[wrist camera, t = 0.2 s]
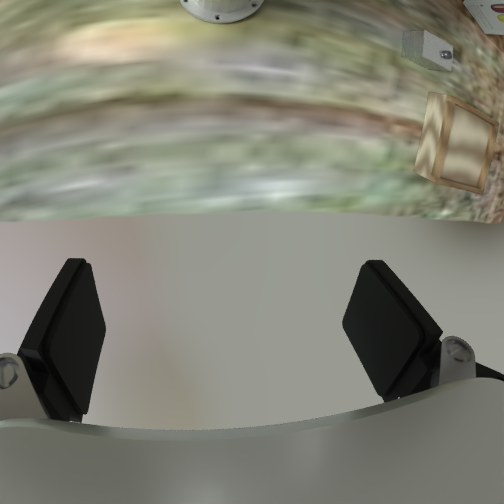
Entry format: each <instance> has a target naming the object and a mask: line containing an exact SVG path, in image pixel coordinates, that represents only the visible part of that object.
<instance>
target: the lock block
mask: <svg viewBox="0 0 504 504" xmlns="http://www.w3.org/2000/svg"><path fill="white" fill-rule="evenodd" d="M401 57H403V58H405V59H407V60H410V61H412V62H414V63H416V64H419V65H421V66H423V67H425V68H427V69H429V70H442V71H451V68H452V57H453V46H452V45H450V44H448V43H447V42H445V41H443V40H442V39H440V38H438V37H436V36H435V35H433V34H431V33H429V32H427V31H426V30H419V31H411V32H403V41H402V52H401Z"/></svg>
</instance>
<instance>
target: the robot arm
mask: <svg viewBox="0 0 504 504" xmlns="http://www.w3.org/2000/svg"><path fill="white" fill-rule="evenodd" d="M184 1H185V0H180V3H181V4H182V6H183V8H184V9H185V10H186V11H187V12H188V13H189V14H191V15H192V16H194V17H195V18H198V19H200V20H202V21H206V22H210V23H218V24H221V23H231V22H236V21H239V20H242V19H244V18H246V17H248V16H250V15H251V14H253V13H254V12H255V11H256V10H257V9H258V8H259V7H260V6H261V4H262V3H263V1H264V0H187V1H188V2H184ZM252 5H254V6H255V7H252ZM217 17H218V18H219V20H216V18H217ZM342 324H343V329H344V331H345V332H346V334H347V336H348V338H349V340H350V342H351V344H352V345H353V347H354V349H355V351H356V353H357V355H358V357H359V359H360V361H361V363H362V365H363V367H364V369H365V371H366V373H367V374H368V376H369V378H370V380H371V382H372V384H373V386H374V388H375V390H376V392H377V394H378V395H379V396H382V398H383V400H384V402H385V403H382V404H378V405H375V406H371V407H367V408H363V409H359V410H354V411H350V412H346V413H341V414H336V415H331V416H326V417H321V418H315V419H310V420H304V421H297V422H291V423H283V424H275V425H267V426H257V427H247V428H233V429H217V430H216V429H215V430H151V429H134V428H120V427H108V426H98V425H90V424H82V423H81V422H82V417H83V414H87V412H88V408H89V403H90V398H91V393H92V388H93V383H94V379H95V374H96V370H97V365H98V361H99V357H100V353H101V349H102V345H103V341H104V337H105V333H106V326H105V322H104V318H103V314H102V310H101V306H100V302H99V298H98V294H97V290H96V285H95V281H94V276H93V272H92V267H91V264H90V263H86V260H85V259H83V258H69V259H67V261H66V262H65V264H64V266H63V267H62V269H61V270H60V272H59V274H58V275H57V278H56V279H55V281H54V282H53V284H52V286H51V288H50V289H49V291H48V293H47V295H46V296H45V299H44V300H43V302H42V304H41V306H40V308H39V309H38V311H37V313H36V315H35V317H34V319H33V321H32V323H31V325H30V327H29V329H28V331H27V333H26V335H25V338H24V340H23V342H22V344H21V346H20V348H19V351H18V353H17V355H16V354H12V353H3V354H0V504H504V375H503V374H501V373H499V372H497V371H495V370H493V369H490V368H488V367H486V366H483V365H481V364H479V363H476V362H475V355H474V351H473V349H472V348H471V346H470V345H469V344H468V343H467V342H466V341H464V340H463V339H461V338H459V337H455V336H448V337H446V338H444V339H443V341H442V342H441V341H440V340H439V338H440V336H441V335H442V333H443V331H442V330H441V328H440V327H439V326H438V325H437V323H436V322H435V321H434V320H433V318H432V317H431V316H430V315H429V313H428V312H427V311H426V310H425V309H424V307H423V306H422V305H421V304H420V303H419V301H418V300H417V299H416V298H415V297H414V296H413V294H412V293H411V292H410V291H409V290H408V288H407V287H406V286H405V285H404V284H403V282H402V281H401V280H400V279H399V278H398V277H397V276H396V274H395V273H394V272H393V271H392V270H391V269H390V268H389V267H388V265H387V264H386V263H385V262H384V261H382V260H368V261H366V263H365V264H364V265H362V267H361V269H360V272H359V275H358V278H357V281H356V284H355V287H354V290H353V293H352V296H351V299H350V301H349V304H348V307H347V309H346V312H345V315H344V318H343V321H342ZM398 397H400V398H399V399H398ZM69 421H74V422H69ZM76 422H80V423H76Z"/></svg>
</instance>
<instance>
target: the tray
mask: <svg viewBox="0 0 504 504" xmlns="http://www.w3.org/2000/svg"><path fill="white" fill-rule="evenodd" d="M498 127H499V123H498V122H497V121H495V120H494V119H492V118H490V117H489V116H487V115H486V114H484V113H482V112H481V111H479V110H477V109H475V108H474V107H472V106H470V105H468V104H467V103H465V102H463V101H461V100H459V99H457V98H455V97H453V96H450V95H444V94H438V93H432V92H429V95H428V101H427V107H426V113H425V119H424V124H423V130H422V135H421V140H420V145H419V149H418V154H417V158H416V162H415V167H414V172H416V173H417V174H419V175H421V176H423V177H425V178H427V179H429V180H431V181H432V182H434V183H438V184H442V185H446V186H450V187H454V188H458V189H462V190H466V191H470V192H473V193H477V194H480V195H482V194H483V191H484V187H485V184H486V180H487V176H488V173H489V169H490V165H491V161H492V156H493V152H494V147H495V142H496V137H497V132H498Z"/></svg>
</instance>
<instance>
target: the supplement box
mask: <svg viewBox="0 0 504 504" xmlns="http://www.w3.org/2000/svg"><path fill="white" fill-rule="evenodd" d="M463 4H464V6H465V7H466V8H467V9H468V11H469V12H470V13H471V15H472V16H473V17H474V19H475V20H476V22H477V23H478V24H479V26H480V27H481V29H482V30H483V32H484V33H485V34H498V35H504V0H464V2H463Z"/></svg>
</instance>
